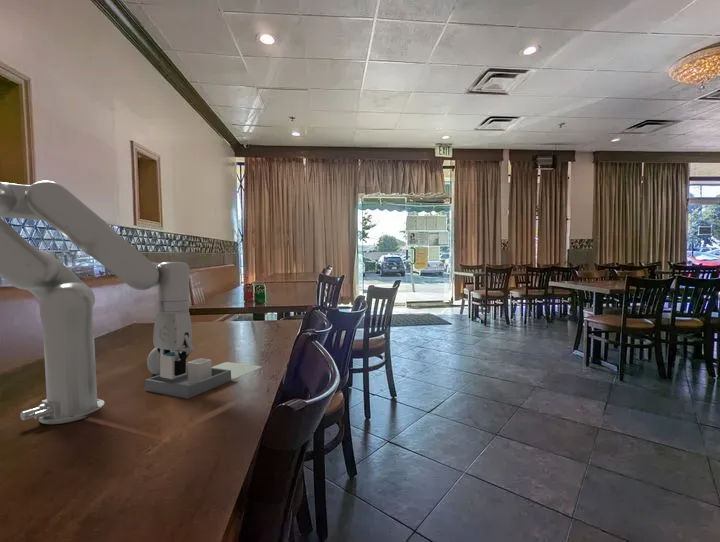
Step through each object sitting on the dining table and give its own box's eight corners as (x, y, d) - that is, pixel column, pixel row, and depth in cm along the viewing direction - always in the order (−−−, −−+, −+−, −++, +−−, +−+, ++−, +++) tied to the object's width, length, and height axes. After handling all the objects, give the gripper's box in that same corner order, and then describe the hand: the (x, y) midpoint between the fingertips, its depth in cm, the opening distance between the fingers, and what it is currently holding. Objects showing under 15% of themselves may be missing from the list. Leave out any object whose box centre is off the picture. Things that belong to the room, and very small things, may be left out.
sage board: (234, 382, 109) (233, 378, 109) (195, 375, 116) (195, 372, 116) (262, 369, 121) (262, 366, 121) (226, 364, 128) (226, 361, 128)
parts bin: (187, 402, 94) (187, 387, 94) (145, 393, 101) (144, 379, 101) (231, 383, 108) (230, 370, 108) (191, 377, 115) (190, 364, 115)
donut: (150, 380, 112) (149, 348, 112) (145, 378, 115) (144, 346, 114) (182, 371, 120) (181, 341, 120) (177, 370, 123) (176, 340, 122)
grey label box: (199, 384, 105) (198, 363, 104) (188, 382, 106) (187, 361, 106) (211, 379, 109) (211, 359, 109) (200, 377, 111) (200, 357, 110)
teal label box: (171, 379, 97) (171, 356, 97) (160, 376, 99) (160, 354, 99) (186, 374, 101) (186, 352, 101) (175, 372, 103) (175, 350, 103)
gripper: (140, 306, 100) (140, 372, 100) (183, 310, 93) (183, 381, 93) (165, 304, 107) (164, 366, 107) (207, 307, 100) (206, 373, 100)
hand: (173, 372), depth 100 cm, fingers closed on teal label box, 4 cm apart
